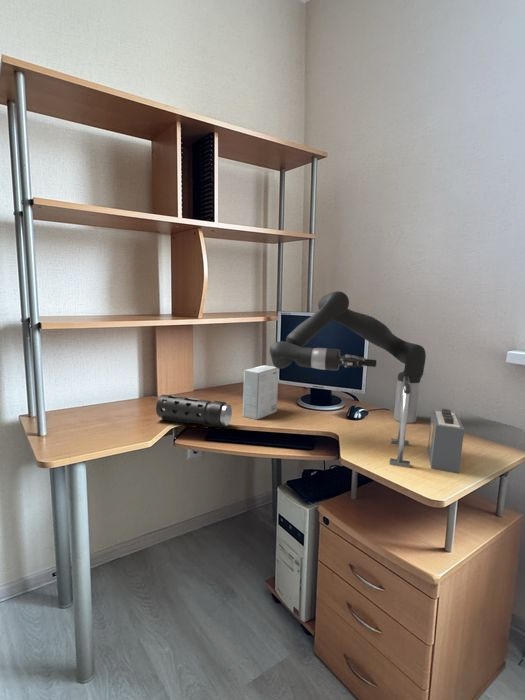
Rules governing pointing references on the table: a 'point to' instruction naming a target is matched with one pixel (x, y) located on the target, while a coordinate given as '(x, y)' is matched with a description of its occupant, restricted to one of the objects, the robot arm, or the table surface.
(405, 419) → the cord gate
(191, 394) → the table surface
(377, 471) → the table surface
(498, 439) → the table surface
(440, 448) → the box
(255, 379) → the hard drive box
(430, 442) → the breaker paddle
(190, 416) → the muzzle brake
